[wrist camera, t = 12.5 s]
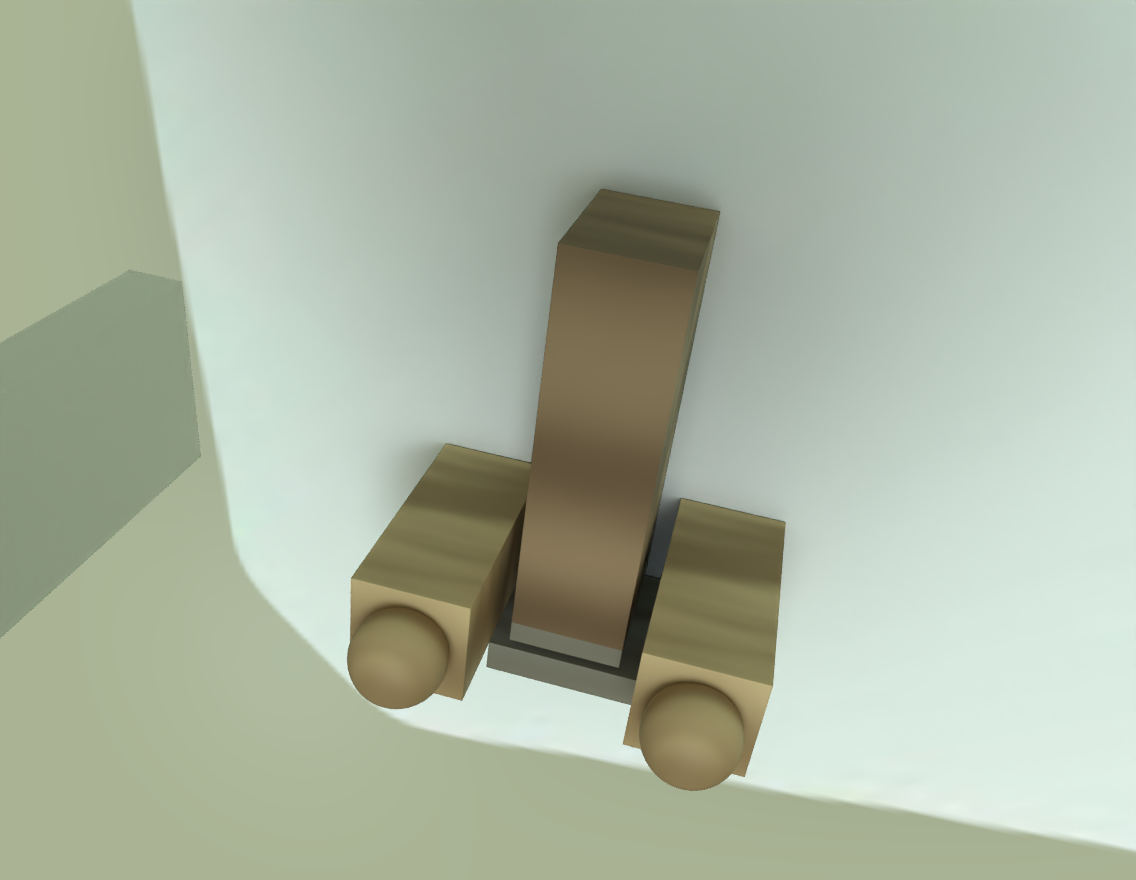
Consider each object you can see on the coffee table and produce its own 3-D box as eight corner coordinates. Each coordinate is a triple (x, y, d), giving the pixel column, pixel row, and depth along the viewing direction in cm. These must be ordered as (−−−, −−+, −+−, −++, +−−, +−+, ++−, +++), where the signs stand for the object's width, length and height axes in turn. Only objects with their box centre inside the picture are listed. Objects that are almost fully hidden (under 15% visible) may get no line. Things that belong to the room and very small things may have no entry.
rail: (601, 188, 33) (558, 243, 27) (720, 211, 32) (698, 271, 27) (550, 544, 40) (509, 639, 35) (646, 568, 39) (618, 667, 34)
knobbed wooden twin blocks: (446, 443, 39) (317, 625, 29) (785, 522, 37) (768, 745, 27) (439, 548, 41) (318, 747, 32) (755, 626, 40) (729, 864, 30)
